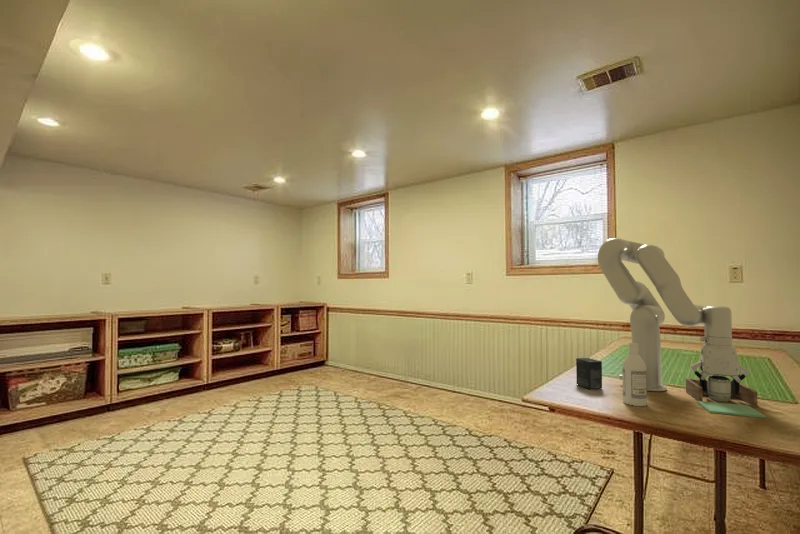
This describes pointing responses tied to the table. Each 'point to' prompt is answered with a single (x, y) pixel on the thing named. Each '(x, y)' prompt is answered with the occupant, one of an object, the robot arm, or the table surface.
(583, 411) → the table surface
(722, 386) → the camera lens
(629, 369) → the bath foam
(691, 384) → the cubby
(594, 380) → the box
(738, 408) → the cutting mat
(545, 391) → the table surface
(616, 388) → the table surface
